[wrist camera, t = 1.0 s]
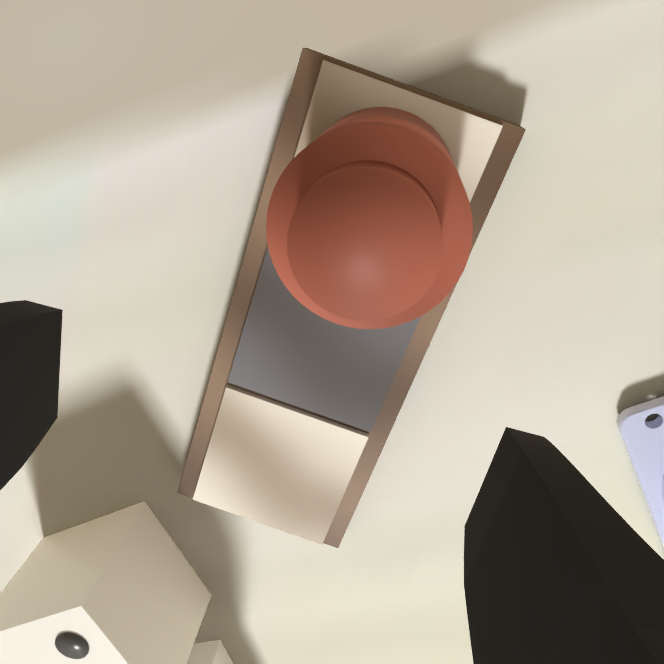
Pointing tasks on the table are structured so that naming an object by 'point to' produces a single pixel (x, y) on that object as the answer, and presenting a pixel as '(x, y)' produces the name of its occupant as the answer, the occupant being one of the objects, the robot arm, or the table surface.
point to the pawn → (371, 221)
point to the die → (103, 596)
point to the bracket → (209, 653)
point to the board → (321, 335)
